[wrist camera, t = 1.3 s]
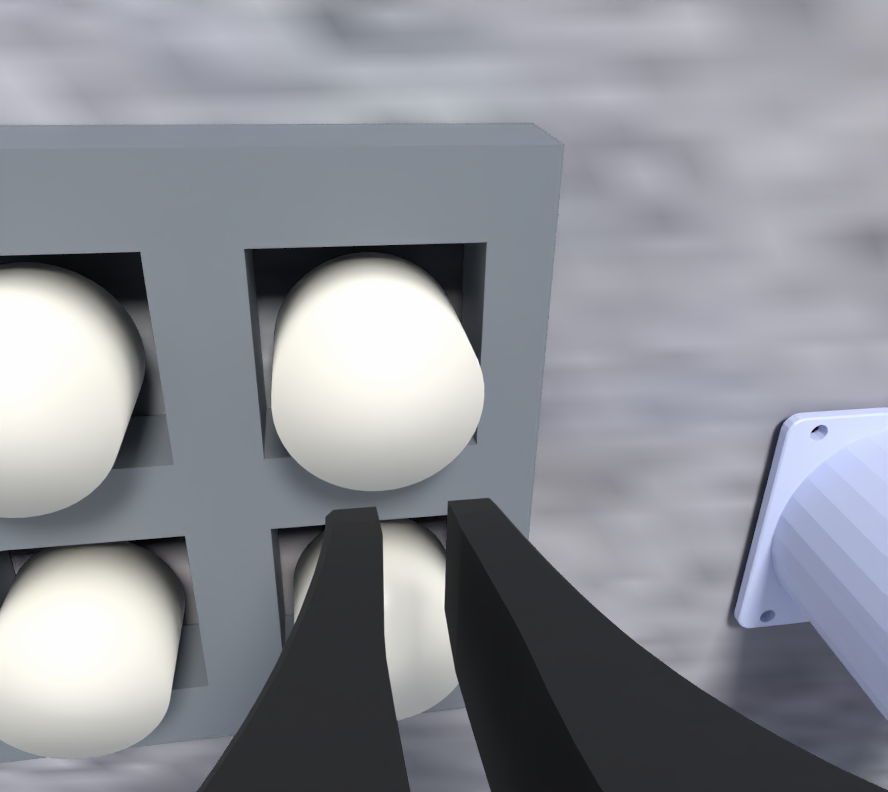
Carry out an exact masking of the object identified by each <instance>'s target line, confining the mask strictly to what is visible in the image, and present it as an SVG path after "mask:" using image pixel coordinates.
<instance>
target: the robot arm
mask: <svg viewBox="0 0 888 792" xmlns="http://www.w3.org/2000/svg"><path fill="white" fill-rule="evenodd" d="M819 425H820V426H819ZM816 426H819V428H818V430H816V431H815V432H814V433H811V432H812V430H813V429H814V428H815V427H816ZM444 610H445V616H446V622H447V628H448V634H449V640H450V645H451V651H452V656H453V662H454V667H455V673H456V676H457V679H458V683H459V686H460V690H461V693H462V696H463V700H464V703H465V707H466V710H467V713H468V717H469V720H470V723H471V727H472V730H473V733H474V737H475V740H476V743H477V746H478V750H479V753H480V756H481V760H482V763H483V766H484V770H485V773H486V776H487V780H488V783H489V786H490V789H491V792H888V790H886V789H884V788H881V787H879V786H877V785H875V784H873V783H870V782H868V781H866V780H864V779H862V778H859V777H857V776H855V775H853V774H851V773H848V772H846V771H844V770H842V769H840V768H838V767H836V766H834V765H832V764H830V763H828V762H826V761H824V760H822V759H820V758H818V757H817V756H815V755H813V754H811V753H809V752H807V751H805V750H803V749H801V748H800V747H798V746H796V745H794V744H792V743H790V742H788V741H786V740H784V739H783V738H781V737H779V736H777V735H775V734H774V733H772V732H770V731H768V730H767V729H765V728H763V727H761V726H760V725H758V724H756V723H754V722H753V721H751V720H749V719H748V718H746V717H744V716H743V715H741V714H739V713H738V712H736V711H735V710H733V709H731V708H730V707H728V706H727V705H725V704H724V703H722V702H720V701H719V700H717V699H716V698H714V697H712V696H711V695H709V694H708V693H706V692H705V691H703V690H701V689H700V688H698V687H697V686H695V685H694V684H692V683H691V682H690V681H688V680H687V679H685V678H684V677H682V676H681V675H679V674H678V673H676V672H675V671H674V670H672V669H671V668H670V667H668V666H667V665H666V664H664V663H663V662H662V661H660V660H659V659H658V658H656V657H655V656H653V655H652V654H651V653H649V652H648V651H647V650H645V649H644V648H643V647H641V646H640V645H639V644H637V643H636V642H635V641H634V640H632V639H631V638H630V637H629V636H628V635H626V634H625V633H624V632H623V631H622V630H620V629H619V628H618V627H617V626H616V625H615V624H613V623H612V622H611V621H610V620H609V619H608V618H607V617H606V616H604V615H603V614H602V613H601V612H600V611H599V610H598V609H596V608H595V607H594V606H593V605H592V604H591V603H590V602H589V601H588V600H587V599H586V598H585V597H583V596H582V595H581V594H580V593H579V592H578V591H577V590H576V589H575V588H574V587H573V586H572V585H571V584H570V583H569V582H568V581H567V580H566V579H565V578H564V577H563V576H562V575H561V574H560V573H559V572H558V571H557V570H556V569H555V568H554V567H553V566H552V565H551V564H550V563H549V562H548V561H547V560H546V559H545V558H544V557H543V556H542V555H541V554H540V553H539V552H538V550H537V549H536V548H535V547H534V546H533V545H532V544H531V543H530V542H529V541H528V540H527V539H526V537H525V536H524V535H523V534H522V533H521V532H520V531H519V530H518V529H517V527H516V526H515V525H514V524H513V523H512V522H511V521H510V520H509V518H508V517H507V516H506V515H505V514H504V513H503V512H502V510H501V509H500V508H499V507H498V506H497V505H496V504H495V503H494V502H493V501H492V500H491V499H490V498H479V499H466V500H453V501H448V508H447V540H446V571H445V603H444ZM765 611H766V612H765ZM734 616H735V618H736V619H737V621H738V622H739V624H740V625H741V626H742V627H744V628H756V627H766V626H775V625H784V624H793V623H802V622H810V623H811V624H812V625H813V627H814V628H815V629H816V630H817V632H818V633H819V634H820V636H821V637H822V638H823V639H824V641H825V642H826V643H827V644H828V646H829V647H830V648H831V650H832V651H833V652H834V653H835V655H836V656H837V657H838V659H839V660H840V661H841V662H842V664H843V665H844V666H845V667H846V669H847V670H848V671H849V673H850V674H851V675H852V676H853V678H854V679H855V680H856V681H857V683H858V684H859V685H860V687H861V688H862V689H863V690H864V692H865V693H866V694H867V695H868V697H869V698H870V699H871V701H872V702H873V703H874V704H875V706H876V707H877V708H878V710H879V711H880V712H881V713H882V715H883V716H884V717H885V718H886V720H887V721H888V407H883V408H868V409H853V410H837V411H822V412H807V413H798V414H794V415H792V416H791V417H789V418H788V419H787V420H786V421H785V422H784V423H783V425H782V428H781V430H780V434H779V438H778V442H777V446H776V450H775V454H774V458H773V462H772V466H771V470H770V474H769V478H768V482H767V486H766V490H765V493H764V497H763V501H762V505H761V509H760V513H759V517H758V521H757V525H756V529H755V533H754V537H753V541H752V545H751V549H750V553H749V556H748V560H747V564H746V568H745V572H744V576H743V580H742V584H741V588H740V592H739V596H738V600H737V604H736V608H735V612H734ZM197 792H410V788H409V782H408V777H407V772H406V767H405V762H404V757H403V751H402V746H401V740H400V735H399V729H398V724H397V718H396V713H395V707H394V701H393V695H392V689H391V683H390V677H389V671H388V665H387V659H386V648H385V635H384V575H383V534H382V529H381V525H380V520H379V516H378V512H377V509H376V507H363V508H350V509H337V510H332V511H331V512H330V513H329V514H328V515H327V516H326V517H325V531H324V537H323V542H322V547H321V551H320V554H319V558H318V561H317V565H316V568H315V571H314V575H313V577H312V580H311V583H310V585H309V588H308V591H307V594H306V596H305V599H304V602H303V604H302V607H301V610H300V612H299V615H298V617H297V619H296V622H295V624H294V626H293V628H292V630H291V632H290V635H289V637H288V639H287V641H286V643H285V646H284V648H283V650H282V652H281V654H280V656H279V659H278V661H277V663H276V665H275V667H274V668H273V670H272V672H271V674H270V676H269V678H268V680H267V682H266V684H265V685H264V687H263V689H262V691H261V693H260V695H259V696H258V698H257V700H256V701H255V703H254V705H253V707H252V708H251V710H250V712H249V714H248V715H247V717H246V719H245V720H244V722H243V724H242V725H241V727H240V728H239V730H238V731H237V733H236V734H235V736H234V738H233V739H232V741H231V742H230V744H229V745H228V747H227V748H226V750H225V751H224V753H223V755H222V756H221V758H220V759H219V761H218V762H217V764H216V765H215V767H214V768H213V770H212V771H211V772H210V774H209V775H208V777H207V778H206V780H205V781H204V782H203V784H202V785H201V787H200V788H199V789H198V791H197Z"/></svg>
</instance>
